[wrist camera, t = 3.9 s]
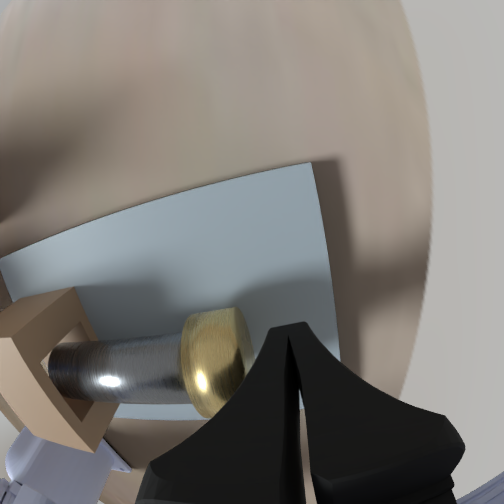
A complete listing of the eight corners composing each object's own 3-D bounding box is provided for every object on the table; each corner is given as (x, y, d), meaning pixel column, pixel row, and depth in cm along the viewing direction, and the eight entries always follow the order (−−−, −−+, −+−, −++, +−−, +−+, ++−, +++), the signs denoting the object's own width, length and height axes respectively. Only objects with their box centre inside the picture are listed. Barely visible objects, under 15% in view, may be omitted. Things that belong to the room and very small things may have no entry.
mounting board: (84, 402, 16) (50, 458, 10) (9, 254, 13) (-58, 291, 7) (338, 385, 14) (361, 473, 8) (306, 162, 11) (351, 161, 5)
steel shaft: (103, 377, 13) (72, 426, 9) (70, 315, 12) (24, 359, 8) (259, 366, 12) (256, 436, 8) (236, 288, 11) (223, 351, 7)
